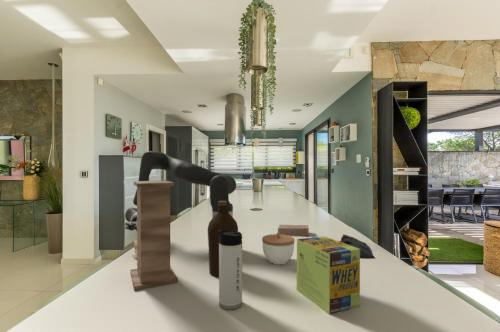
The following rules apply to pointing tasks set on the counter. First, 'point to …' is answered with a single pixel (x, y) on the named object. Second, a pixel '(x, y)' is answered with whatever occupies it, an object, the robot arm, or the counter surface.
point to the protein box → (328, 273)
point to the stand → (153, 235)
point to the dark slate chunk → (358, 246)
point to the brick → (293, 230)
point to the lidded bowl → (278, 248)
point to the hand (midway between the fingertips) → (143, 228)
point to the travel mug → (230, 269)
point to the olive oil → (218, 223)
